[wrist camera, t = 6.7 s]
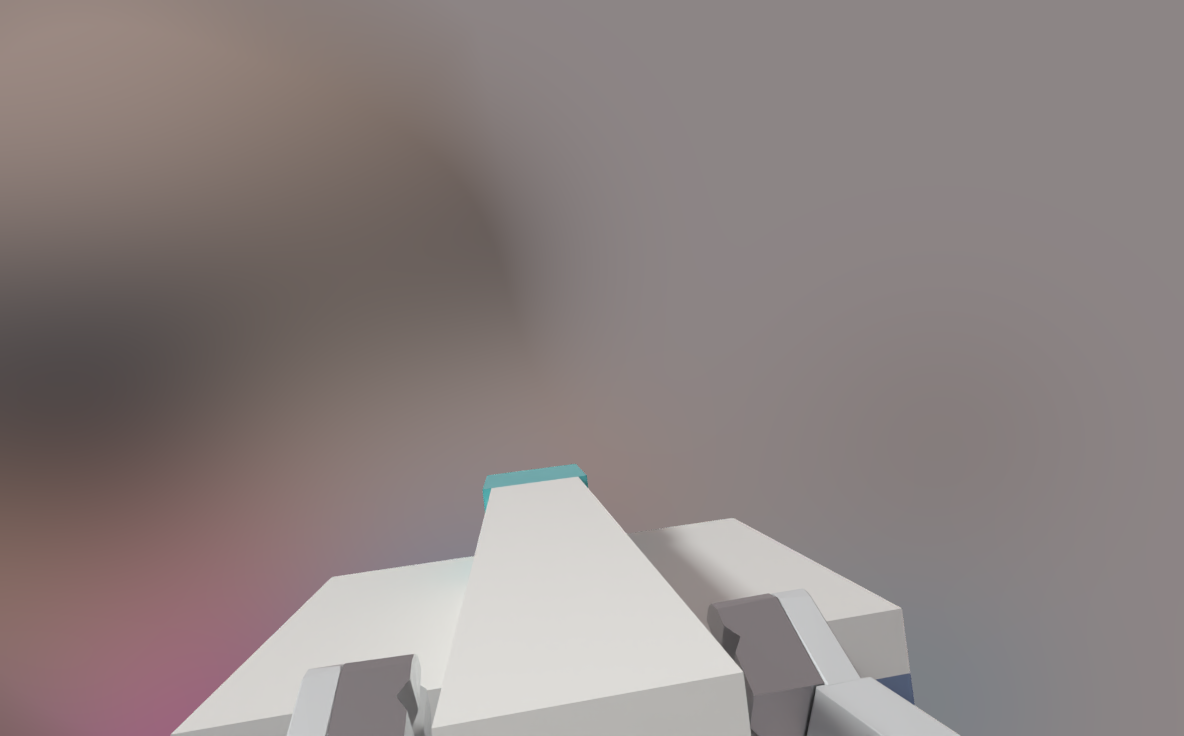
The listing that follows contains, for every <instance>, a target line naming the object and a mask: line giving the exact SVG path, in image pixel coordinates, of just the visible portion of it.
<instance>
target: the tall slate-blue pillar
mask: <svg viewBox="0 0 1184 736" xmlns="http://www.w3.org/2000/svg"><path fill="white" fill-rule="evenodd" d="M627 535H628V536H629V537H630V538H631V540H632V541H633V542H634V543H635V544H636V546H637V547H638V548H639V549H640V550H641V551H642V553H643V554H644V555H645V556H646V557H647V559H648V560H649V561H650V562H651V563H652V565H653V566H654V567H655V568H656V569H657V570H658V572H659V573H660V574H661V575H662V576H663V578H664V579H665V580H666V581H667V582H668V583H669V585H670V586H671V587H672V588H673V589H674V591H675V592H676V593H677V594H678V595H679V596H680V598H681V599H682V600H683V601H684V602H685V604H686V605H687V606H688V607H689V608H690V609H691V611H692V612H693V613H694V614H695V615H696V617H697V618H698V619H699V620H700V621H701V623H702V624H703V625H704V626H705V627H706V628H707V630H708V631H709V632H710V633H711V630H710V628H709V625H708V622H707V613H708V608H709V606H710V604H712V603H717V602H723V601H728V600H734V599H740V598H745V597H751V596H756V595H762V594H767V593H769V594H772V593H777V592H783V591H790V590H796V589H802V588H803V589H804V590H806V591H807V592H808V593H809V594H810V596H811V597H812V599H813V601H814V602H815V604H816V605H817V607H818V609H819V610H820V612H821V613H822V615H823V617H824V618H825V620H826V622H827V623H828V625H829V626H830V628H831V630H832V631H833V633H834V635H835V636H836V638H837V639H838V641H839V643H840V644H841V646H842V647H843V649H844V651H845V652H846V654H847V656H848V657H849V659H850V660H851V662H852V664H853V665H854V667H855V669H856V670H857V672H858V673H859V675H860V677H861V678H865V677H872V678H874V679H875V680H877V681H878V682H880V683H881V684H883V685H884V686H886V687H887V688H889V689H890V690H892V691H893V692H895V693H896V694H898V695H900V696H901V697H903V698H904V699H906V700H907V701H909V702H910V703H912V704H913V705H914V697H913V690H912V683H911V675H910V667H909V660H908V652H907V645H906V637H905V630H904V622H903V615H902V608H900V607H898V606H896V605H894V604H893V603H891V602H889V601H887V600H885V599H883V598H881V597H880V596H878V595H876V594H874V593H872V592H870V591H868V590H866V589H865V588H863V587H861V586H859V585H857V584H855V583H853V582H852V581H850V580H848V579H846V578H844V577H842V576H840V575H839V574H837V573H835V572H833V571H831V570H829V569H827V568H825V567H824V566H822V565H820V564H818V563H816V562H814V561H812V560H811V559H809V558H807V557H805V556H803V555H801V554H799V553H797V552H796V551H794V550H792V549H790V548H788V547H786V546H784V545H783V544H781V543H779V542H777V541H775V540H773V539H771V538H770V537H767V536H766V535H764V534H762V533H760V532H758V531H756V530H755V529H753V528H751V527H749V526H747V525H745V524H744V523H742V522H740V521H737V520H736V519H734V518H729V519H723V520H716V521H709V522H702V523H696V524H689V525H682V526H675V527H668V528H663V529H662V528H661V529H655V530H648V531H641V532H635V533H628V534H627ZM473 560H474V556H472V557H465V558H458V559H451V560H445V561H438V562H431V563H424V564H417V565H410V566H404V567H397V568H391V569H384V570H377V571H370V572H364V573H357V574H349V575H343V576H337V577H332V578H331V579H330V580H329V581H327V582H326V583H325V584H324V585H323V587H321V588H320V589H319V590H318V591H317V592H316V593H315V594H314V595H313V596H312V597H311V598H310V599H309V600H308V601H307V602H306V603H305V604H304V605H303V606H302V607H301V608H300V609H299V610H298V611H297V612H296V613H295V614H294V615H293V616H292V617H291V618H290V619H289V620H288V621H287V622H285V623H284V624H283V625H282V626H281V627H280V629H278V630H277V631H276V632H275V633H274V634H273V635H272V636H271V637H270V638H269V639H268V640H267V641H266V642H265V643H264V644H263V645H262V646H261V647H260V648H259V649H258V650H257V651H256V652H255V653H254V654H253V655H252V656H251V657H250V658H249V659H248V660H247V661H246V662H245V663H243V665H241V667H239V668H238V669H237V670H236V671H235V672H234V673H233V674H232V675H231V676H230V677H229V678H228V679H227V680H226V681H225V682H224V683H223V684H222V685H221V686H220V687H219V688H218V689H217V690H216V691H215V692H214V693H213V694H212V695H211V696H210V697H209V698H208V699H207V700H206V701H205V702H204V703H203V704H201V706H200V707H199V708H197V709H196V710H195V711H194V712H193V713H192V714H191V715H190V716H189V717H188V718H187V719H186V720H185V721H184V722H183V723H182V724H181V725H180V726H179V727H178V728H177V729H176V730H175V731H174V732H173V733H172V734H171V736H287V732H288V729H289V725H290V721H291V717H292V714H293V710H294V706H295V703H296V699H297V695H298V691H299V688H300V684H301V681H302V679H303V677H304V676H305V674H306V672H307V671H308V669H313V668H319V667H326V666H332V665H339V664H345V663H352V662H359V661H366V660H373V659H381V658H388V657H395V656H402V655H410V654H417V655H418V658H419V662H420V665H421V683H420V685H421V686H423V687H424V688H426V689H427V693H428V698H429V704H430V711H431V733H432V724H433V720H434V716H435V712H436V708H437V704H438V700H439V696H440V692H441V688H442V684H443V680H444V676H445V672H446V668H447V664H448V660H449V656H450V652H451V648H452V644H453V640H454V636H455V632H456V628H457V624H458V620H459V616H460V612H461V608H462V604H463V600H464V596H465V592H466V588H467V584H468V580H469V576H470V572H471V568H472V564H473ZM711 634H712V633H711Z"/></svg>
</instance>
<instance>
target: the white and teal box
mask: <svg viewBox="0 0 1184 736" xmlns="http://www.w3.org/2000/svg"><path fill="white" fill-rule="evenodd" d="M483 498H484V507H485V516H484V520H483V524H482V528H481V532H480V536H479V540H478V544H477V548H476V552H475V556H474V560H473V564H472V568H471V572H470V576H469V580H468V584H467V588H466V592H465V596H464V600H463V604H462V608H461V612H460V616H459V620H458V624H457V628H456V632H455V636H454V640H453V644H452V648H451V652H450V656H449V660H448V664H447V668H446V672H445V676H444V680H443V684H442V688H441V692H440V696H439V700H438V704H437V708H436V712H435V716H434V720H433V724H432V736H751V730H750V722H749V713H748V705H747V697H746V689H745V681H744V673H743V671H742V670H741V669H740V667H739V666H738V665H737V664H736V663H735V662H734V660H733V659H732V658H731V657H730V656H729V654H728V653H727V652H726V651H725V650H724V649H723V647H722V646H721V645H720V644H719V643H718V641H717V640H716V639H715V638H714V637H713V636H712V634H711V633H710V632H709V631H708V630H707V628H706V627H705V626H704V625H703V624H702V623H701V621H700V620H699V619H698V618H697V617H696V615H695V614H694V613H693V612H692V611H691V609H690V608H689V607H688V606H687V605H686V604H685V602H684V601H683V600H682V599H681V598H680V596H679V595H678V594H677V593H676V592H675V591H674V589H673V588H672V587H671V586H670V585H669V583H668V582H667V581H666V580H665V579H664V578H663V576H662V575H661V574H660V573H659V572H658V570H657V569H656V568H655V567H654V566H653V565H652V563H651V562H650V561H649V560H648V559H647V557H646V556H645V555H644V554H643V553H642V551H641V550H640V549H639V548H638V547H637V546H636V544H635V543H634V542H633V541H632V540H631V538H630V537H629V536H628V535H627V534H626V533H625V532H624V530H623V529H622V528H621V527H620V525H619V524H618V523H617V522H616V521H615V520H614V519H613V517H612V516H611V515H610V514H609V512H608V511H607V510H606V509H605V508H604V507H603V505H602V504H601V503H600V502H599V501H598V499H597V498H596V497H595V496H594V495H593V494H592V492H591V491H590V490H589V489H588V483H587V475H586V474H585V473H584V472H583V471H582V470H581V469H580V468H579V467H578V466H577V465H576V464H571V465H564V466H557V467H548V468H541V469H533V470H525V471H519V472H510V473H503V474H495V475H488V476H487V478H486V481H485V484H484V487H483Z"/></svg>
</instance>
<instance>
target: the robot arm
mask: <svg viewBox="0 0 1184 736" xmlns="http://www.w3.org/2000/svg"><path fill="white" fill-rule="evenodd" d="M707 622H708V625H709V628H710V630H711V633H712V636H713V637H714V638H715V639H716V640H717V641H718V643H719V644H720V645H721V646H722V647H723V649H724V650H725V651H726V652H727V653H728V654H729V656H730V657H731V658H732V659H733V660H734V662H735V663H736V664H737V665H738V666H739V667H740V669H741V670H742V671H743V673H744V681H745V689H746V697H747V705H748V713H749V722H750V730H751V736H960V735H959V734H957V733H956V732H954V731H953V730H951V729H950V728H948V727H947V726H945V725H944V724H942V723H941V722H939V721H938V720H936V719H934V718H933V717H931V716H930V715H928V714H927V713H925V712H924V711H922V710H921V709H919V708H918V707H916V706H915V705H913V704H912V703H910V702H909V701H907V700H906V699H904V698H903V697H901V696H900V695H898V694H896V693H895V692H893V691H892V690H890V689H889V688H887V687H886V686H884V685H883V684H881V683H880V682H878V681H877V680H875V679H874V678H872V677H865V678H861V677H860V675H859V673H858V672H857V670H856V669H855V667H854V665H853V664H852V662H851V660H850V659H849V657H848V656H847V654H846V652H845V651H844V649H843V647H842V646H841V644H840V643H839V641H838V639H837V638H836V636H835V635H834V633H833V631H832V630H831V628H830V626H829V625H828V623H827V622H826V620H825V618H824V617H823V615H822V613H821V612H820V610H819V609H818V607H817V605H816V604H815V602H814V601H813V599H812V597H811V596H810V594H809V593H808V592H807V591H806V590H804V589H803V588H802V589H796V590H790V591H783V592H777V593H772V594H769V593H767V594H762V595H756V596H751V597H745V598H740V599H734V600H728V601H723V602H717V603H712V604H710V606H709V608H708V613H707ZM420 683H421V665H420V662H419V658H418V655H417V654H410V655H402V656H395V657H388V658H381V659H373V660H366V661H359V662H352V663H345V664H339V665H332V666H326V667H319V668H313V669H308V671H307V672H306V674H305V676H304V677H303V679H302V681H301V684H300V688H299V691H298V695H297V699H296V703H295V706H294V710H293V714H292V717H291V721H290V725H289V729H288V732H287V736H432V733H431V711H430V704H429V698H428V693H427V689H426V688H424V687H423V686H421V685H420Z"/></svg>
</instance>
